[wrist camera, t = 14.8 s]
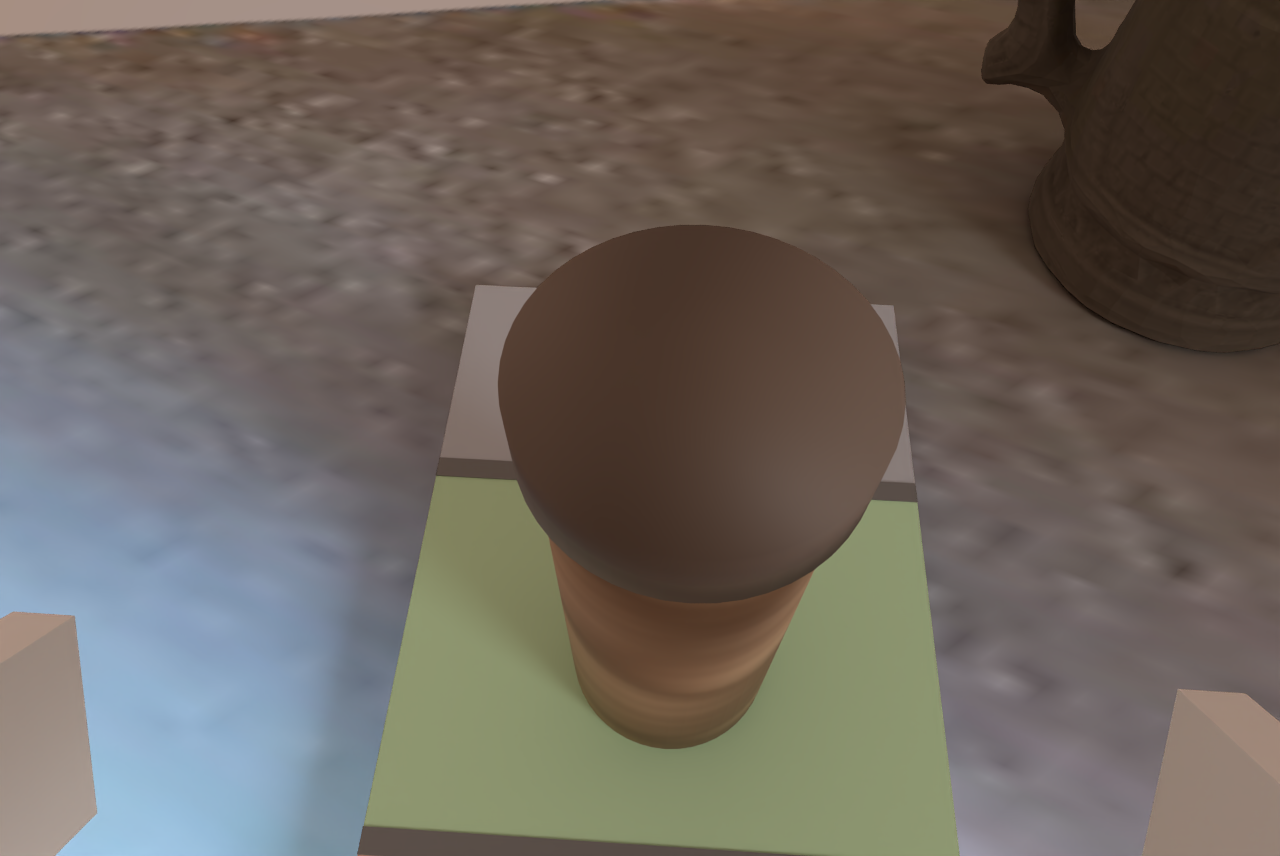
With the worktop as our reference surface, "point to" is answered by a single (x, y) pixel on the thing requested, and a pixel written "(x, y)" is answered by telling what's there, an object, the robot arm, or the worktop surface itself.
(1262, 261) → the beer stein
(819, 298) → the wooden dark-capped post
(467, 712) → the gauge board
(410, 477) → the worktop surface
